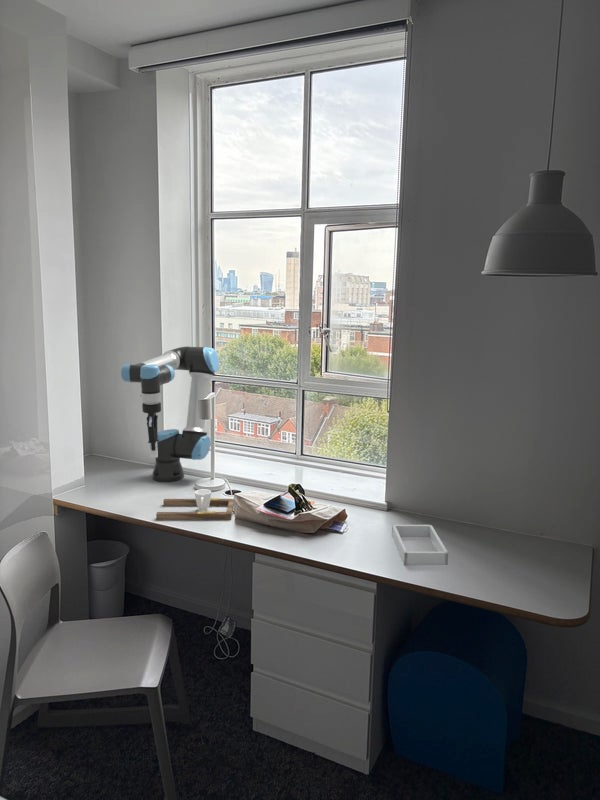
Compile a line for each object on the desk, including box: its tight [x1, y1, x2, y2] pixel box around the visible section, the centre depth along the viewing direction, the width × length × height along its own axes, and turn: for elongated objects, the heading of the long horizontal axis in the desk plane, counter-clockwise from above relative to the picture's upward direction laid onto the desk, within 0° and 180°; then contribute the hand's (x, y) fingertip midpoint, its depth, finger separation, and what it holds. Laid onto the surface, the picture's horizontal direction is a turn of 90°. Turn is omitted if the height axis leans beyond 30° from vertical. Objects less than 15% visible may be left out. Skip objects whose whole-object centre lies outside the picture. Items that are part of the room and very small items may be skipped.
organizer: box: [391, 524, 449, 566], centre depth 221 cm, size 24×15×4 cm, turn 2°
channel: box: [155, 497, 235, 521], centre depth 255 cm, size 17×30×3 cm, turn 92°
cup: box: [194, 488, 212, 511], centre depth 255 cm, size 7×10×8 cm
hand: (154, 457), depth 257 cm, fingers closed
